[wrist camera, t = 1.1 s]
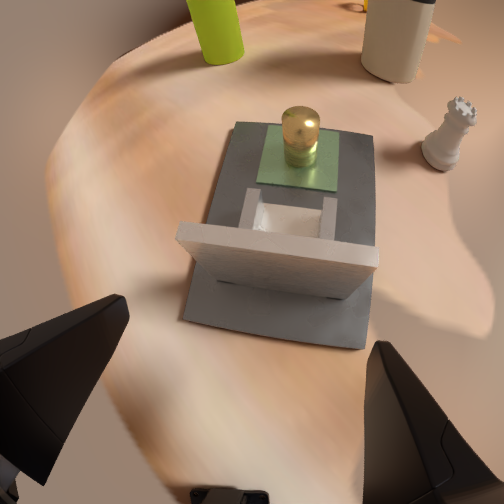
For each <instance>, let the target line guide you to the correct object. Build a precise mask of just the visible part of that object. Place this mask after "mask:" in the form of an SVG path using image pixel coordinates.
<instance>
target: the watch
mask: <svg viewBox="0 0 504 504" xmlns="http://www.w3.org/2000/svg"><path fill="white" fill-rule="evenodd" d="M367 5H368V0H364V11H367Z"/></svg>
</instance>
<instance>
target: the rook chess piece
mask: <svg viewBox="0 0 504 504" xmlns="http://www.w3.org/2000/svg"><path fill="white" fill-rule="evenodd" d="M463 101H464V98H463V97H459V99H458V98H457V97H455V98H454V100H452V101H450V102H448V105H447V107H448V110H449V113H446V114H445V117H444V119H445V120H444V122H443V124H442V125H441V126H440V127H439V129H438V130H435V131H434V132H431V133H430V134H429V135H427V136H426V137H425V140H424V141H423V142H422V146H421V148H422V152H423V155H424V157H425V159H426V160H427V162H428V163H429V164H430V165H431V166H432V167H434V168H436V169H438V170H442V171H449V170H452V169H453V168H454V167H455V166H456V163H457V162H458V160H459V150H460V148H459V146H460V143H461V141H462V138H463V136H464V134H467V133H468V131H469V128H468V127H469V126H474V125H475V124H476V115H477V114H476V112H477V110H476V108H475V107H473V108H471V105H472V103H471V102H469V101H468V102H467V104H466V103H464V102H463Z"/></svg>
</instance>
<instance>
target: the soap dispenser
mask: <svg viewBox="0 0 504 504" xmlns="http://www.w3.org/2000/svg"><path fill="white" fill-rule="evenodd" d="M186 1H187V4H188V7H189V11H190V14H191V17H192V20H193V23H194V27H195V30H196V33H197V36H198V40H199V43H200V46H201V49H202V53H203V56H204V59H205V61H206V62H207V63H208V64H212V65H224V64H228V63H232V62H234V61H236V60H238V59H240V58H241V57H242V56H243V55H244V46H243V41H242V36H241V31H240V26H239V21H238V16H237V11H236V6H235V1H234V0H186Z"/></svg>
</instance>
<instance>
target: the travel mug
mask: <svg viewBox="0 0 504 504" xmlns="http://www.w3.org/2000/svg"><path fill="white" fill-rule="evenodd" d="M435 1H436V0H368V5H367V15H366V24H365V33H364V41H363V48H362V56H361V63H362V65H363V66H364V68H365V69H366V70H368V71H369V72H370V73H372V74H373V75H375V76H377V77H379V78H381V79H384V80H386V81H390V82H394V83H410V82H412V81H413V80H414V79H415V76H416V73H417V70H418V67H419V63H420V60H421V56H422V53H423V49H424V46H425V42H426V39H427V35H428V31H429V27H430V23H431V19H432V15H433V10H434V6H435Z"/></svg>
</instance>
